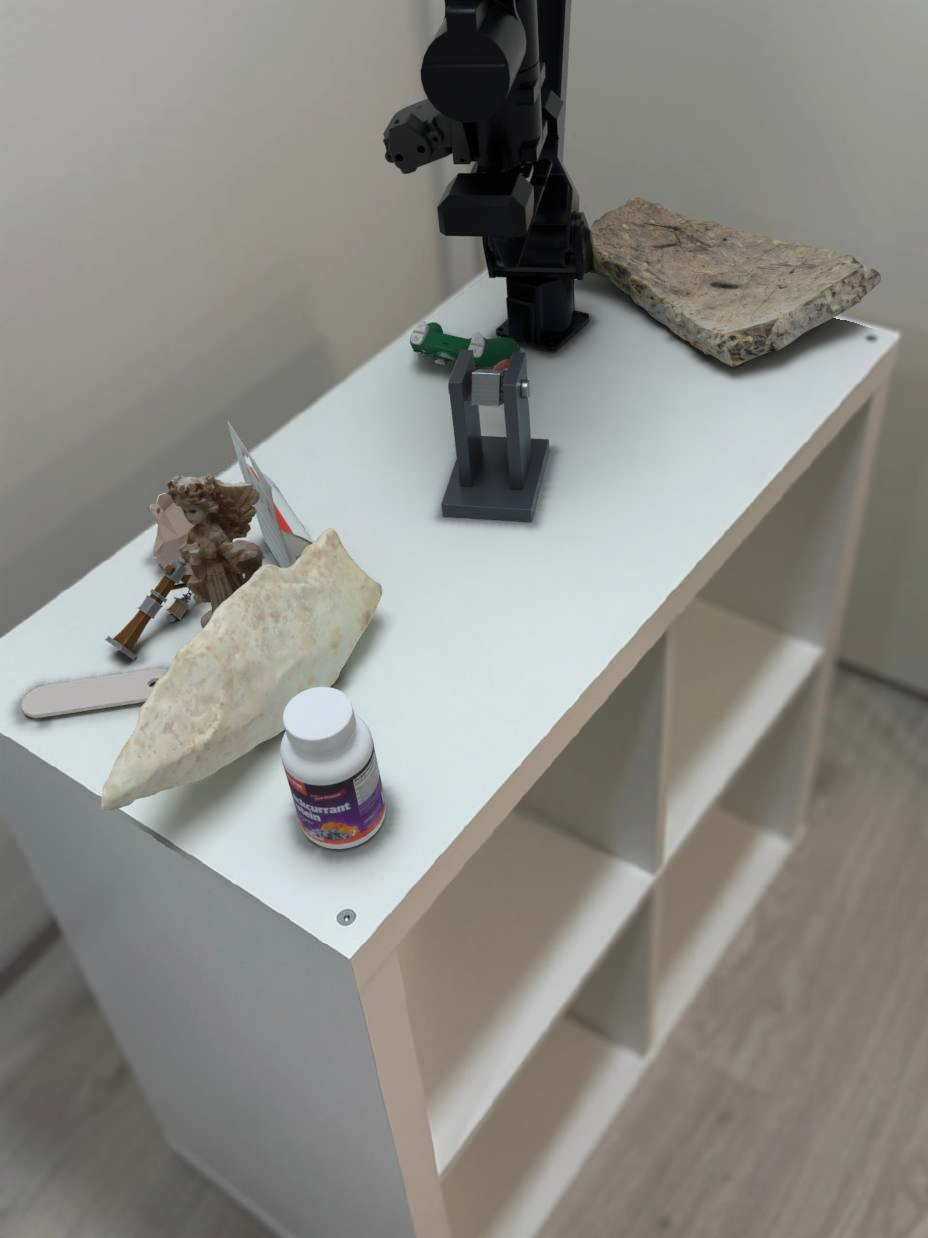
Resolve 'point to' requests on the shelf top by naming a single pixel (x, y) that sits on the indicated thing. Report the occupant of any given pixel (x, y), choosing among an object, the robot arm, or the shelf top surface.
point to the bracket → (494, 450)
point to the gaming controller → (460, 345)
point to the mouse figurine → (169, 531)
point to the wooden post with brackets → (155, 607)
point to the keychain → (90, 693)
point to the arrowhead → (246, 670)
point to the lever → (489, 385)
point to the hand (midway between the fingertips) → (511, 265)
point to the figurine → (216, 536)
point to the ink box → (273, 511)
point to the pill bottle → (331, 769)
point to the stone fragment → (724, 279)
